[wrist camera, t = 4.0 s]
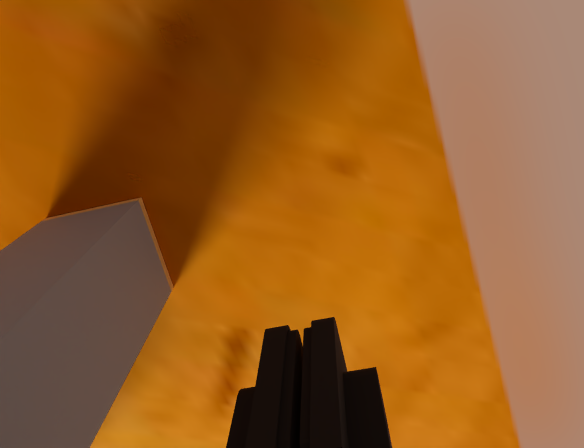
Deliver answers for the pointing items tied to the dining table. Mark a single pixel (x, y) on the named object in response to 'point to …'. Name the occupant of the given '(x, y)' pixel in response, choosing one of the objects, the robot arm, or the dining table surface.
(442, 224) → the dining table surface
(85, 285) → the slate block
